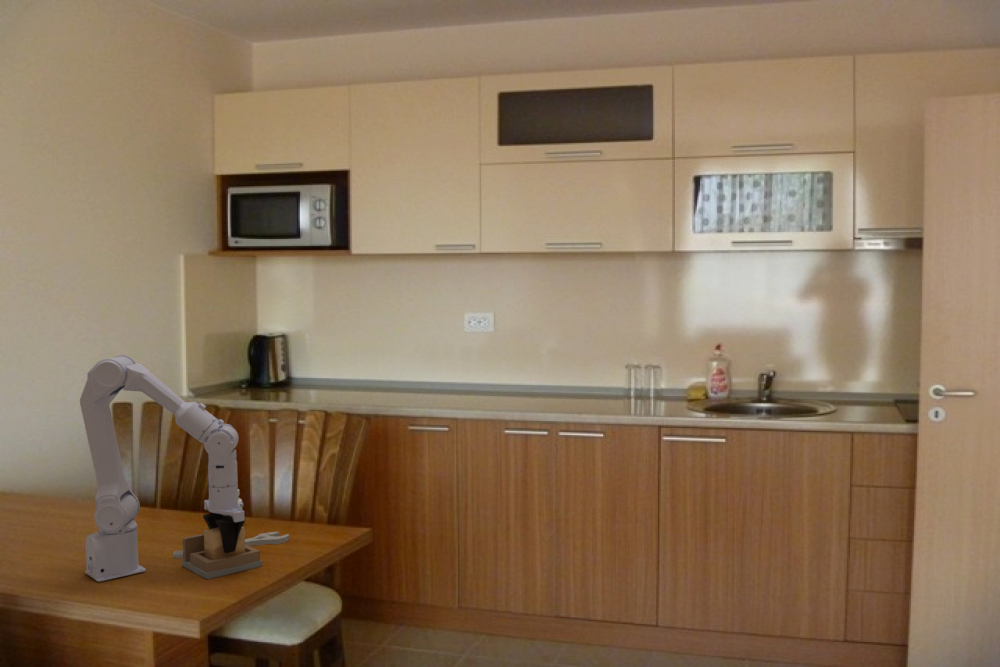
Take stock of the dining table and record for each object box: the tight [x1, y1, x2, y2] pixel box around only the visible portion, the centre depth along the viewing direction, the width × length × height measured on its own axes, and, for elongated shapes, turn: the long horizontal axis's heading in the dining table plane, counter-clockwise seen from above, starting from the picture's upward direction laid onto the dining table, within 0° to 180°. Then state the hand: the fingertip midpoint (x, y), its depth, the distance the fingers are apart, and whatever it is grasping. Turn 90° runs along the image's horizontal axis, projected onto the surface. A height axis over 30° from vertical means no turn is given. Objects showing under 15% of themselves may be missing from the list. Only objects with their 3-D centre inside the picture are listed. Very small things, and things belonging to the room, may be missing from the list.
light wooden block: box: [203, 526, 246, 560], centre depth 183 cm, size 7×4×6 cm, turn 133°
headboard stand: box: [181, 533, 263, 580], centre depth 184 cm, size 12×12×6 cm
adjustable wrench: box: [173, 531, 290, 559], centre depth 198 cm, size 25×6×2 cm, turn 119°
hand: (224, 549), depth 183 cm, fingers closed on light wooden block, 4 cm apart
